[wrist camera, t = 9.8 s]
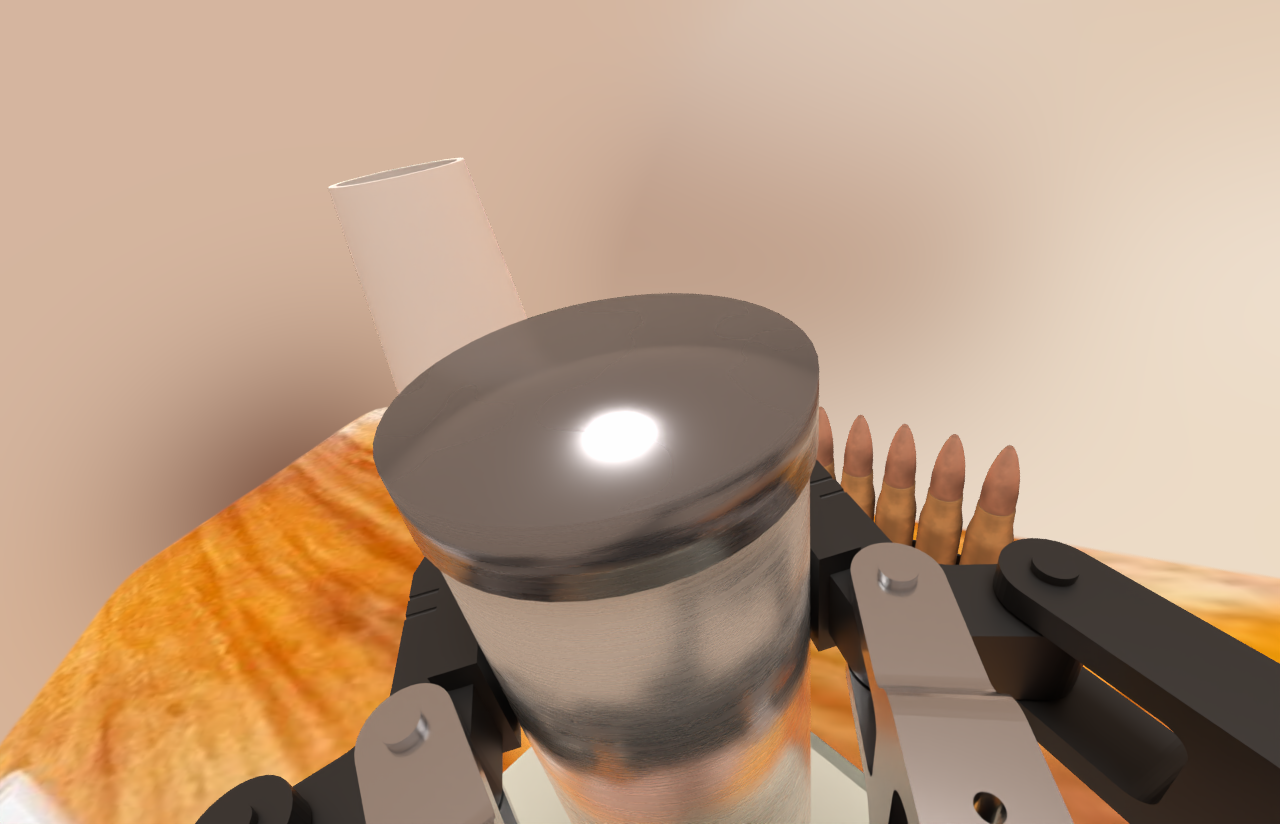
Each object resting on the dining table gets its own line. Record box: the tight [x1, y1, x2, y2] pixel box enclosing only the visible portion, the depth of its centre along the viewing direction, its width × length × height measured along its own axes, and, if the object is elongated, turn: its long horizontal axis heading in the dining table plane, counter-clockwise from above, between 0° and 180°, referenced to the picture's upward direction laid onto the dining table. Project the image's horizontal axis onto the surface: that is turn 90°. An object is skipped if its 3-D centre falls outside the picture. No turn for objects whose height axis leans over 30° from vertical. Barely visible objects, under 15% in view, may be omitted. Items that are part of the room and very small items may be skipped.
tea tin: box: [373, 293, 819, 824], centre depth 10 cm, size 5×5×11 cm
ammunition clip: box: [816, 407, 1020, 565], centre depth 25 cm, size 11×2×12 cm, turn 52°
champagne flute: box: [328, 158, 528, 395], centre depth 25 cm, size 7×7×24 cm
